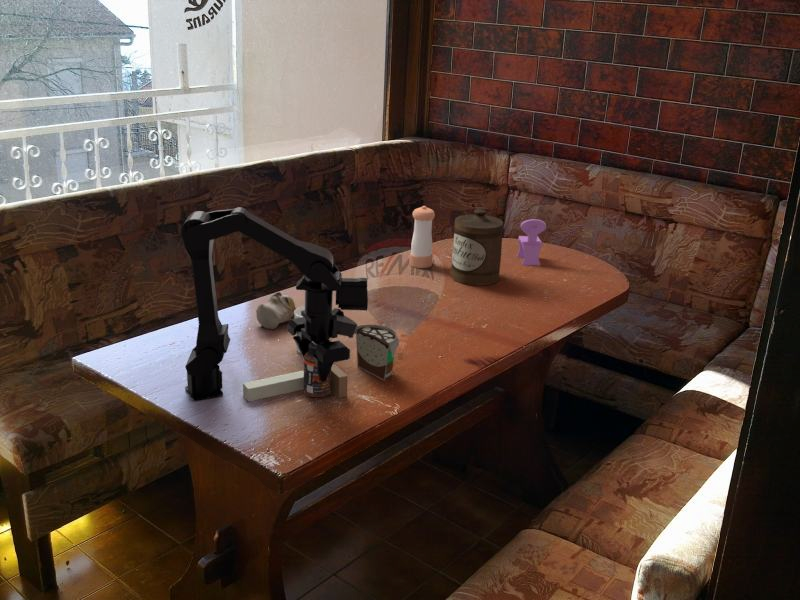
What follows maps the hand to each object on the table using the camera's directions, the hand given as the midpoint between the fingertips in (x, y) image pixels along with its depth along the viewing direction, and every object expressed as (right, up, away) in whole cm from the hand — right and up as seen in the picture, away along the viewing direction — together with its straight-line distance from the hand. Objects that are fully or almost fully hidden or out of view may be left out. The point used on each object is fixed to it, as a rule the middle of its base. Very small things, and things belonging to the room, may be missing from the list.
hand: (317, 375), depth 181 cm
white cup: (-4, +4, +23) cm, 24 cm away
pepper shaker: (+25, +27, +86) cm, 93 cm away
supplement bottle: (0, -4, +1) cm, 4 cm away
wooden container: (+41, +23, +77) cm, 90 cm away
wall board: (-5, -5, +1) cm, 7 cm away
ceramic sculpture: (-14, +10, +38) cm, 41 cm away
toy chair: (+60, +29, +94) cm, 116 cm away
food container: (+13, 0, +14) cm, 20 cm away
